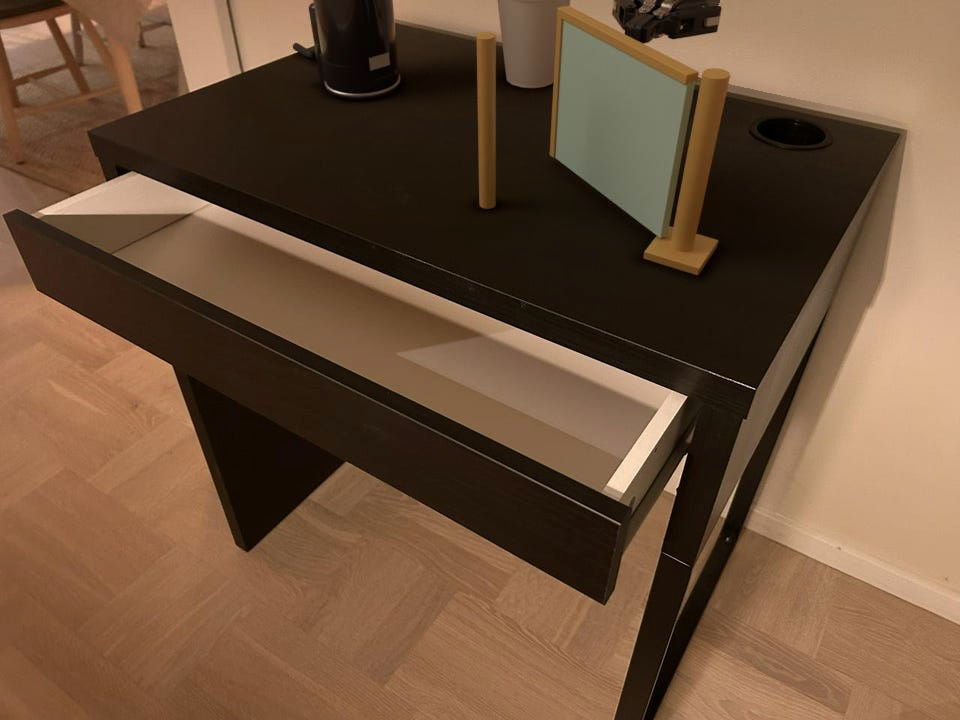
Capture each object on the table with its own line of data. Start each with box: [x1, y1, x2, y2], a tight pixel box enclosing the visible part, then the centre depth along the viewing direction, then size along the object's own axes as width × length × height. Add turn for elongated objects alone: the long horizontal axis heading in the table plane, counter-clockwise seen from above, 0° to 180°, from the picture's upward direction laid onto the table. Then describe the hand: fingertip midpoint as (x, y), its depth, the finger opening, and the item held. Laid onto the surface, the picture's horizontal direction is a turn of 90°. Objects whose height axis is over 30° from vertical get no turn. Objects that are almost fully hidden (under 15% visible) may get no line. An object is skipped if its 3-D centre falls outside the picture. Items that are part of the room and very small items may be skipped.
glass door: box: [549, 6, 700, 238], centre depth 67 cm, size 18×1×15 cm, turn 28°
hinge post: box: [642, 67, 731, 276], centre depth 61 cm, size 5×5×16 cm
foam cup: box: [497, 0, 571, 89], centre depth 91 cm, size 10×9×13 cm
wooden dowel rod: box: [476, 31, 497, 210], centre depth 67 cm, size 2×2×16 cm
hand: (633, 36), depth 77 cm, fingers closed
